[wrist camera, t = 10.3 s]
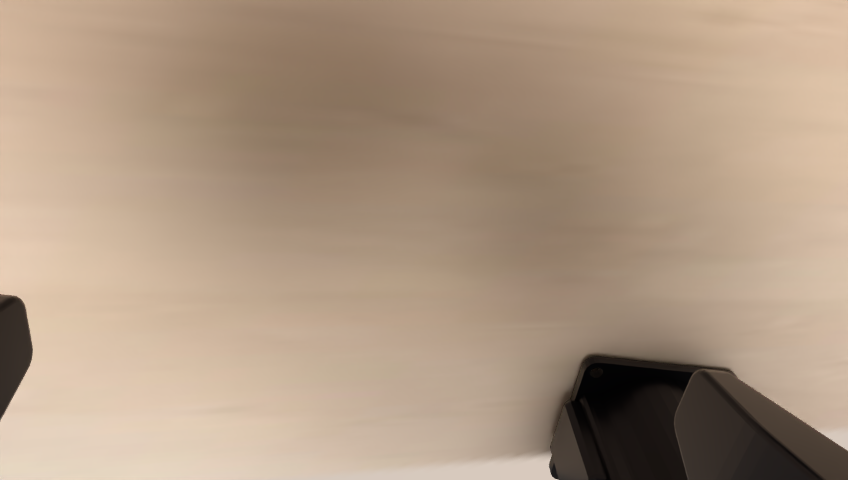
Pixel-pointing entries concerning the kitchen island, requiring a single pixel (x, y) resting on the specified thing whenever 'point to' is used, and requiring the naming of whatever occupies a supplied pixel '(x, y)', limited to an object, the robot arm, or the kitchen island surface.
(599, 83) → the kitchen island surface
